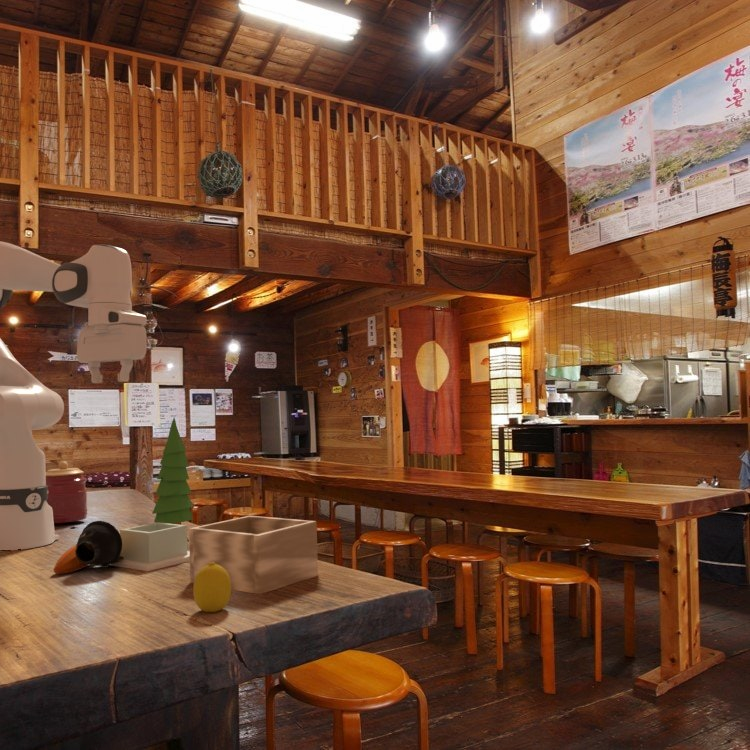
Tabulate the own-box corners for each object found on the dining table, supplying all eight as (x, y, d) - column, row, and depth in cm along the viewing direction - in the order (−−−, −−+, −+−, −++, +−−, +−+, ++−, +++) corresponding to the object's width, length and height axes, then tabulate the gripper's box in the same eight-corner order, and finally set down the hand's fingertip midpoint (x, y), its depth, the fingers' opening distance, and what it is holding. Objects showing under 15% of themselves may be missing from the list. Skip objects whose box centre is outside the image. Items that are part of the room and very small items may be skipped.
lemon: (197, 611, 102) (196, 559, 103) (234, 609, 103) (232, 557, 103) (190, 623, 97) (189, 567, 97) (229, 620, 97) (227, 565, 98)
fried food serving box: (190, 585, 118) (189, 528, 119) (250, 566, 131) (249, 515, 131) (259, 597, 109) (258, 535, 109) (318, 576, 121) (316, 521, 122)
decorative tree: (176, 546, 154) (173, 416, 155) (143, 545, 157) (140, 417, 159) (201, 538, 163) (198, 415, 165) (169, 537, 166) (166, 416, 168)
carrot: (54, 553, 126) (102, 526, 141) (38, 568, 127) (87, 540, 142) (70, 574, 126) (117, 544, 140) (54, 588, 127) (102, 558, 142)
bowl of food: (76, 520, 125) (127, 494, 143) (49, 566, 127) (103, 534, 145) (115, 549, 124) (161, 519, 142) (87, 594, 126) (136, 559, 144)
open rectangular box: (104, 565, 137) (103, 530, 137) (160, 551, 149) (159, 520, 149) (147, 572, 129) (146, 536, 130) (203, 557, 141) (202, 524, 141)
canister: (30, 524, 195) (29, 463, 196) (58, 516, 208) (57, 460, 209) (70, 524, 193) (69, 462, 194) (96, 516, 206) (95, 459, 207)
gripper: (69, 321, 148) (68, 383, 148) (126, 313, 137) (126, 380, 136) (95, 323, 154) (94, 383, 153) (152, 316, 142) (151, 381, 142)
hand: (109, 382), depth 145 cm, fingers open, 8 cm apart
